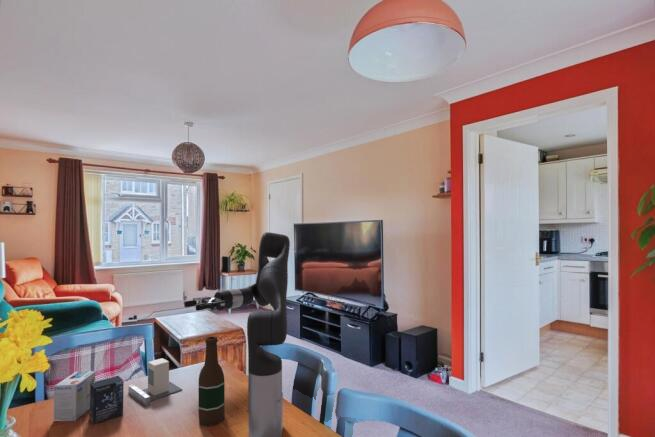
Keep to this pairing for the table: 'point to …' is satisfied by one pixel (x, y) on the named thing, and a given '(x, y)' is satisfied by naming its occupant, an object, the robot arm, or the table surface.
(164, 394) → the shelf mat
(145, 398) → the rail
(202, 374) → the beer bottle
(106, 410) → the box
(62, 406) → the light bulb box
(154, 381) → the carton
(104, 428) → the table surface
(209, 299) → the robot arm
